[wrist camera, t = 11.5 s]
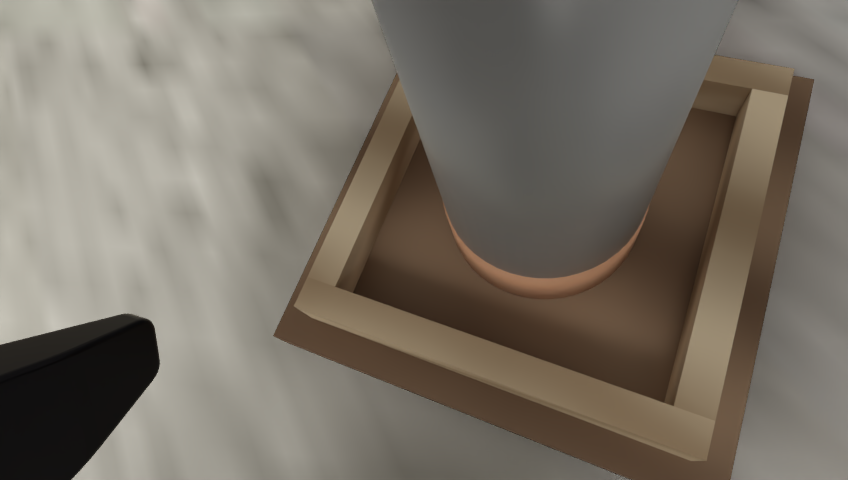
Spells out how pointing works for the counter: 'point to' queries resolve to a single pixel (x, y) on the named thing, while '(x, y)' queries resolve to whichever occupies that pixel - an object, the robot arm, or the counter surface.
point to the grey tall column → (550, 123)
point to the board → (579, 314)
